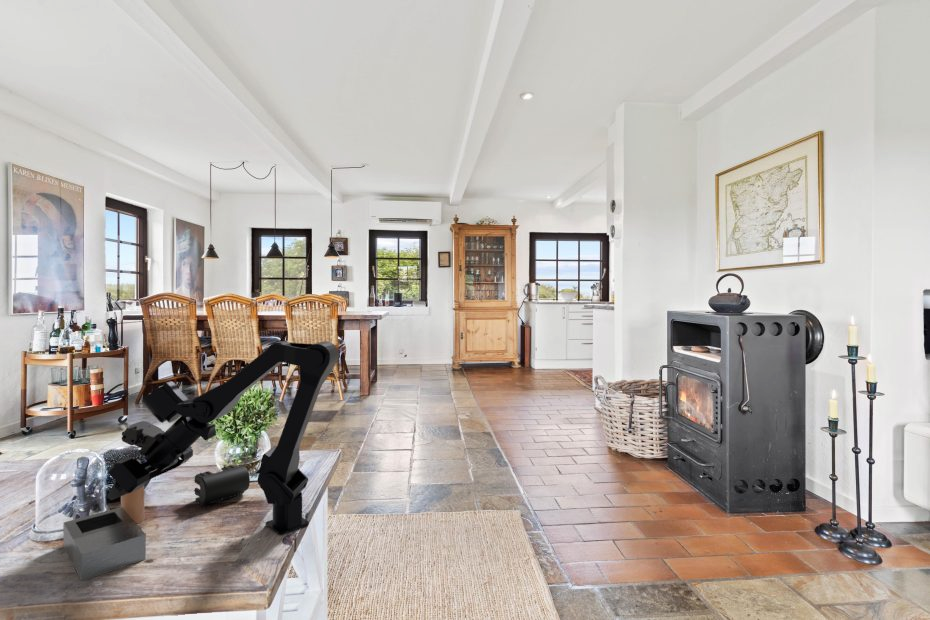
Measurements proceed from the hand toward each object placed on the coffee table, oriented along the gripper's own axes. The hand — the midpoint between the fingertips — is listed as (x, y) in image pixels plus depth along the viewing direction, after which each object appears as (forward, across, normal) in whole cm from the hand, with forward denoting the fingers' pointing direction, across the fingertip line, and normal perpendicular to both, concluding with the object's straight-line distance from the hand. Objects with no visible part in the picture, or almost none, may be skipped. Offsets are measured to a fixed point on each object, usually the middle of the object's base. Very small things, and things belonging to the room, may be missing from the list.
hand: (126, 488), depth 98 cm
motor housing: (+1, +12, +8) cm, 15 cm away
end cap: (-5, -12, +15) cm, 19 cm away
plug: (+4, 0, +6) cm, 7 cm away
